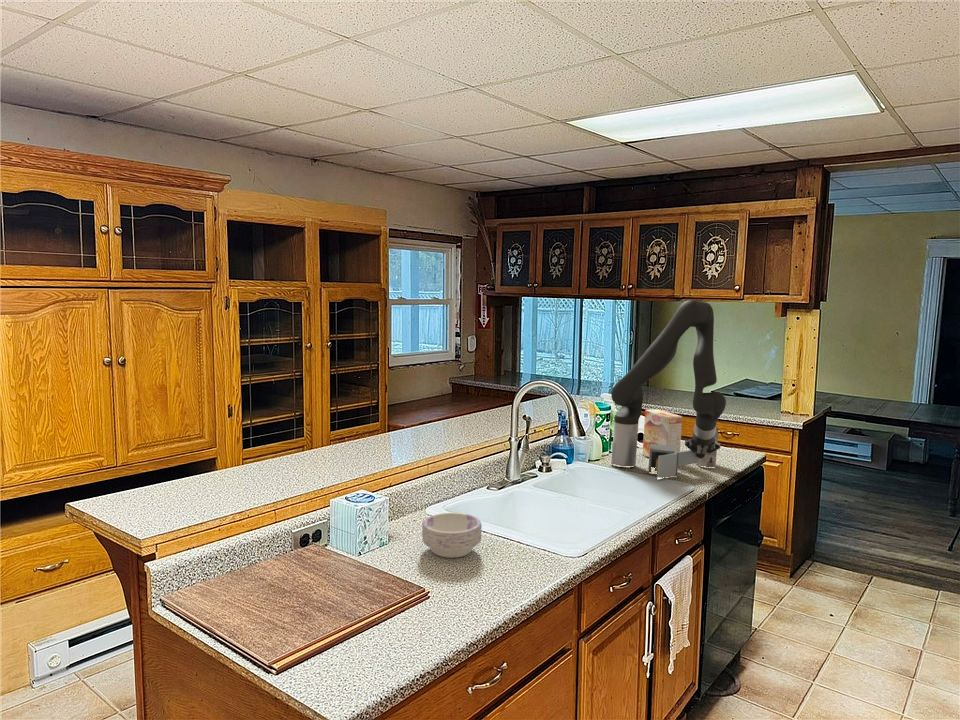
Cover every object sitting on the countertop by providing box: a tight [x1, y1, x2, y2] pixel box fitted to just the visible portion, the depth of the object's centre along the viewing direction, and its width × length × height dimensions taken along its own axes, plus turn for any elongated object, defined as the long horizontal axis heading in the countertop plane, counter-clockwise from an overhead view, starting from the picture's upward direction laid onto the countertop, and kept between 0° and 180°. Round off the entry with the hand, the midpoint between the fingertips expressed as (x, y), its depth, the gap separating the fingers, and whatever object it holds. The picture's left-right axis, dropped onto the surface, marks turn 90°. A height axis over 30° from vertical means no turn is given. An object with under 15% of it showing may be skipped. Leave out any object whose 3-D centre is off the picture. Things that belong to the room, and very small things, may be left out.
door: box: [656, 449, 698, 478], centre depth 247 cm, size 21×1×9 cm, turn 123°
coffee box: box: [696, 426, 719, 468], centre depth 265 cm, size 9×6×16 cm
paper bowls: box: [421, 512, 483, 559], centre depth 172 cm, size 15×15×8 cm
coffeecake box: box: [642, 408, 683, 457], centre depth 271 cm, size 15×7×20 cm, turn 25°
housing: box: [648, 444, 675, 472], centre depth 253 cm, size 9×9×10 cm
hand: (700, 456), depth 251 cm, fingers closed
